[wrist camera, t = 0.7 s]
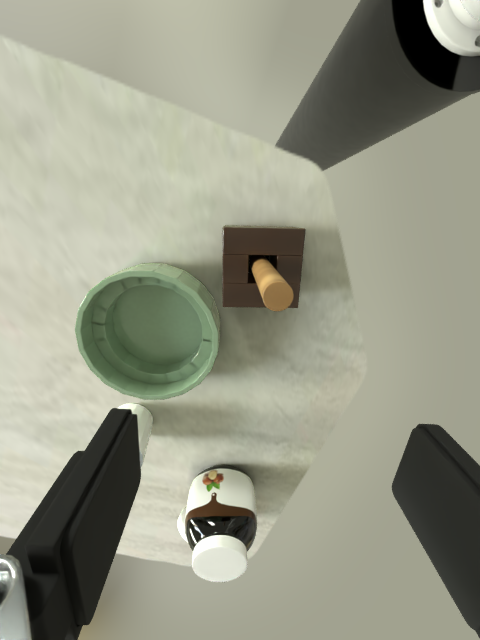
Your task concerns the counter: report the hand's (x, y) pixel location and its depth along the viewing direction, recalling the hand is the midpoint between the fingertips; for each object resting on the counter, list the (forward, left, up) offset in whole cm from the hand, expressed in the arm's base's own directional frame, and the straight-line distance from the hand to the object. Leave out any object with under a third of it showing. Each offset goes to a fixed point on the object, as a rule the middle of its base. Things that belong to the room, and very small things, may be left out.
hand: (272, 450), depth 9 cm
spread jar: (+34, -3, -26) cm, 43 cm away
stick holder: (-3, +2, -26) cm, 26 cm away
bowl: (+5, -10, -26) cm, 28 cm away
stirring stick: (-3, +2, -26) cm, 26 cm away
